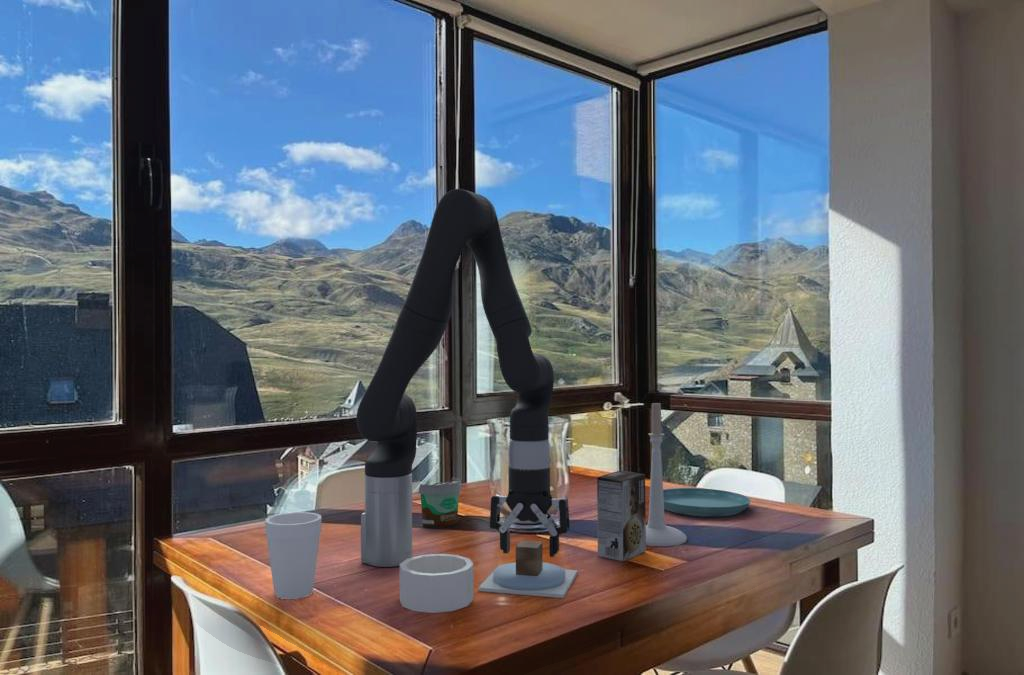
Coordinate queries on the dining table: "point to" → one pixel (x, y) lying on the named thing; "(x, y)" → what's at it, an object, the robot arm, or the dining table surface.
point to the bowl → (436, 583)
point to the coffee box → (621, 515)
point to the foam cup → (293, 552)
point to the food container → (440, 503)
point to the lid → (529, 570)
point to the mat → (552, 592)
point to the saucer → (704, 502)
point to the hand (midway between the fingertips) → (529, 554)
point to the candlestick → (659, 493)
